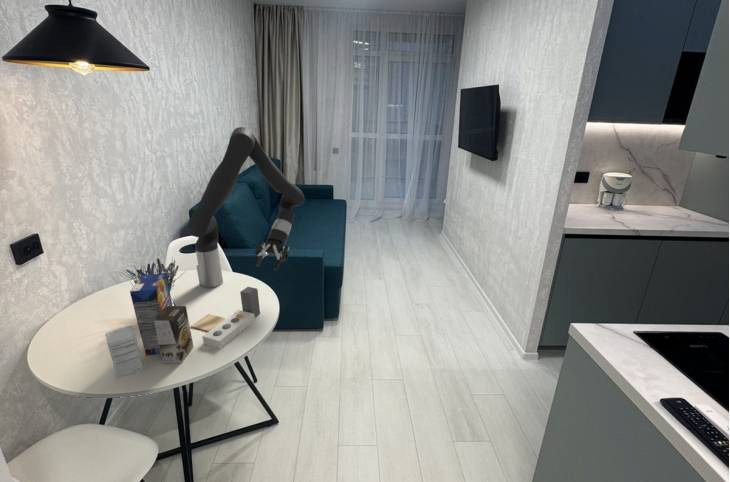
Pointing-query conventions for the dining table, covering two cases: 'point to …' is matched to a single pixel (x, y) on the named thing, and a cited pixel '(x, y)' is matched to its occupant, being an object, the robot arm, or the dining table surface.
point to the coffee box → (174, 334)
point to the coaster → (208, 322)
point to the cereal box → (150, 307)
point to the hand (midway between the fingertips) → (266, 267)
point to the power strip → (228, 329)
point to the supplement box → (124, 351)
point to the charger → (250, 300)
